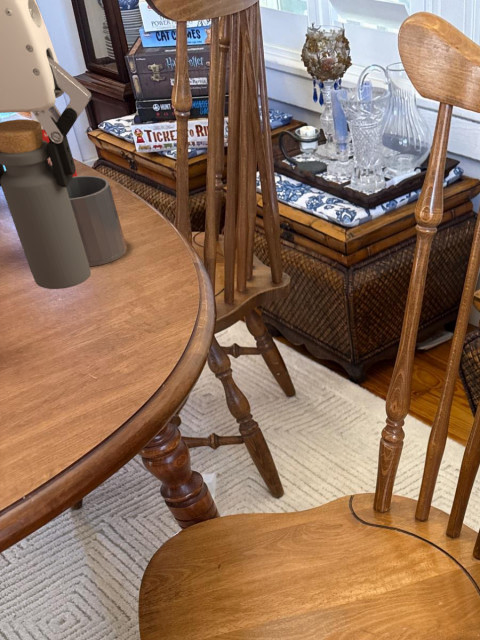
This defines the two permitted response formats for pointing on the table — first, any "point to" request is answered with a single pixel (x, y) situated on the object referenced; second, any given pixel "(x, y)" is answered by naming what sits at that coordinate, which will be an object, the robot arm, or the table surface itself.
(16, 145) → the bottle
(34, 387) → the table surface
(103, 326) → the table surface
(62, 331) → the table surface
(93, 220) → the grey open cup
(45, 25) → the robot arm
